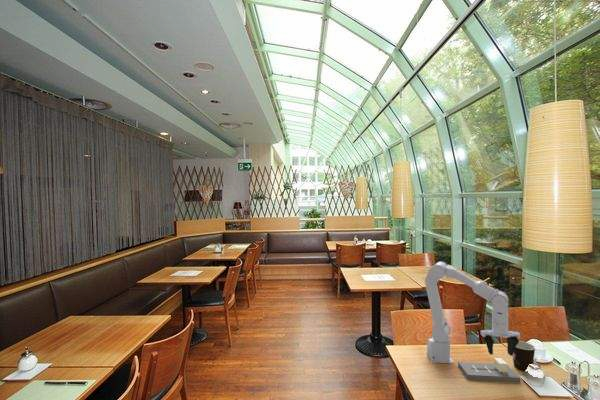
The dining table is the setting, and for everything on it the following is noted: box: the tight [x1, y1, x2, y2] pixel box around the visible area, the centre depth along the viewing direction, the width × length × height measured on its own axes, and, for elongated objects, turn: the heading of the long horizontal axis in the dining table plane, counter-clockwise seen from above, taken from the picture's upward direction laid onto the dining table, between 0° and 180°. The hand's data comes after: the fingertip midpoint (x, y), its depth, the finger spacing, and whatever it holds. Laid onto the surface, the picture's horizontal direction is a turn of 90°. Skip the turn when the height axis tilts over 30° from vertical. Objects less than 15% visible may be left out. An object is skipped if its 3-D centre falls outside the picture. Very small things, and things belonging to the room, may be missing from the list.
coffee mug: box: [511, 340, 536, 373], centre depth 133 cm, size 12×9×10 cm
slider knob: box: [493, 357, 508, 373], centre depth 127 cm, size 3×4×4 cm
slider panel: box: [457, 361, 522, 384], centre depth 128 cm, size 20×10×2 cm, turn 83°
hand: (500, 354), depth 127 cm, fingers open, 7 cm apart
